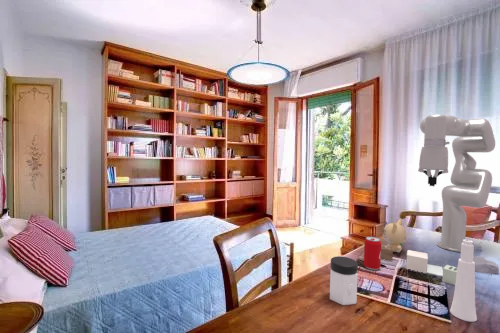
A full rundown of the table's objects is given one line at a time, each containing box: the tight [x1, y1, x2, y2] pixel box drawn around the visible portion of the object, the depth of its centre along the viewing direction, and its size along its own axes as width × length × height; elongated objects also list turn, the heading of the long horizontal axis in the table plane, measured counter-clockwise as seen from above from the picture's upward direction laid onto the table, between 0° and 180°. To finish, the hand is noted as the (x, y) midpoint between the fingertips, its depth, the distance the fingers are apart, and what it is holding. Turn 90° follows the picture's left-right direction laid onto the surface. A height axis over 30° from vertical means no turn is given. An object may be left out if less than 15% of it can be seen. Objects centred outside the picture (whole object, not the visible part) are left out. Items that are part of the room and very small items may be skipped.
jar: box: [329, 255, 359, 306], centre depth 84 cm, size 9×8×12 cm
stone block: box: [459, 255, 500, 275], centre depth 110 cm, size 12×5×10 cm
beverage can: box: [363, 236, 382, 271], centre depth 107 cm, size 6×6×12 cm
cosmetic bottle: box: [449, 239, 478, 323], centre depth 76 cm, size 6×6×22 cm
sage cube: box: [442, 264, 458, 286], centre depth 96 cm, size 5×5×5 cm
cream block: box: [405, 249, 429, 274], centre depth 108 cm, size 7×7×6 cm
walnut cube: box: [381, 244, 394, 261], centre depth 118 cm, size 5×5×5 cm
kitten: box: [382, 218, 407, 253], centre depth 127 cm, size 15×10×15 cm
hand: (432, 185), depth 115 cm, fingers closed
